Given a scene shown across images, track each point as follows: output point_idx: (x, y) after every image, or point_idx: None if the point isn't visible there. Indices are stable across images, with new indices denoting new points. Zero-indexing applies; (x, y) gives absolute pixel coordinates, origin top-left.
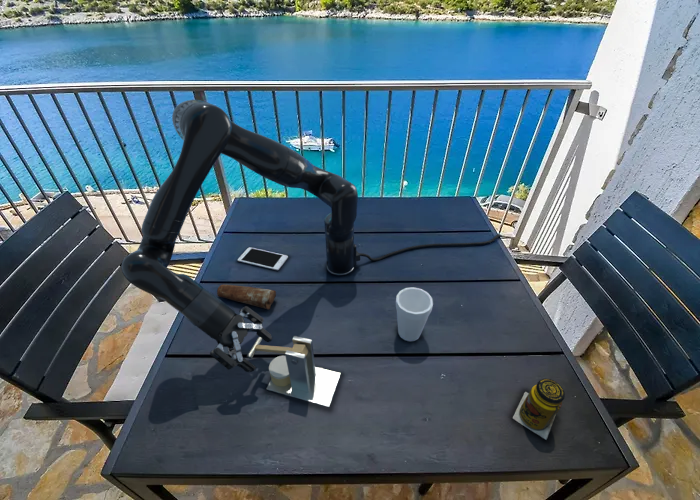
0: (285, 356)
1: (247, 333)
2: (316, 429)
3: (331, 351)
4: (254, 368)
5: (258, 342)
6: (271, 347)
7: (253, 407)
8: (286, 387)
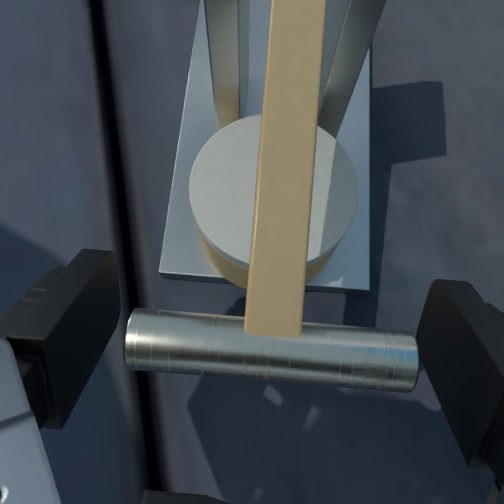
0: (195, 183)
1: (162, 494)
2: (459, 39)
3: (79, 58)
4: (460, 281)
5: (205, 323)
6: (288, 102)
7: None
8: None
